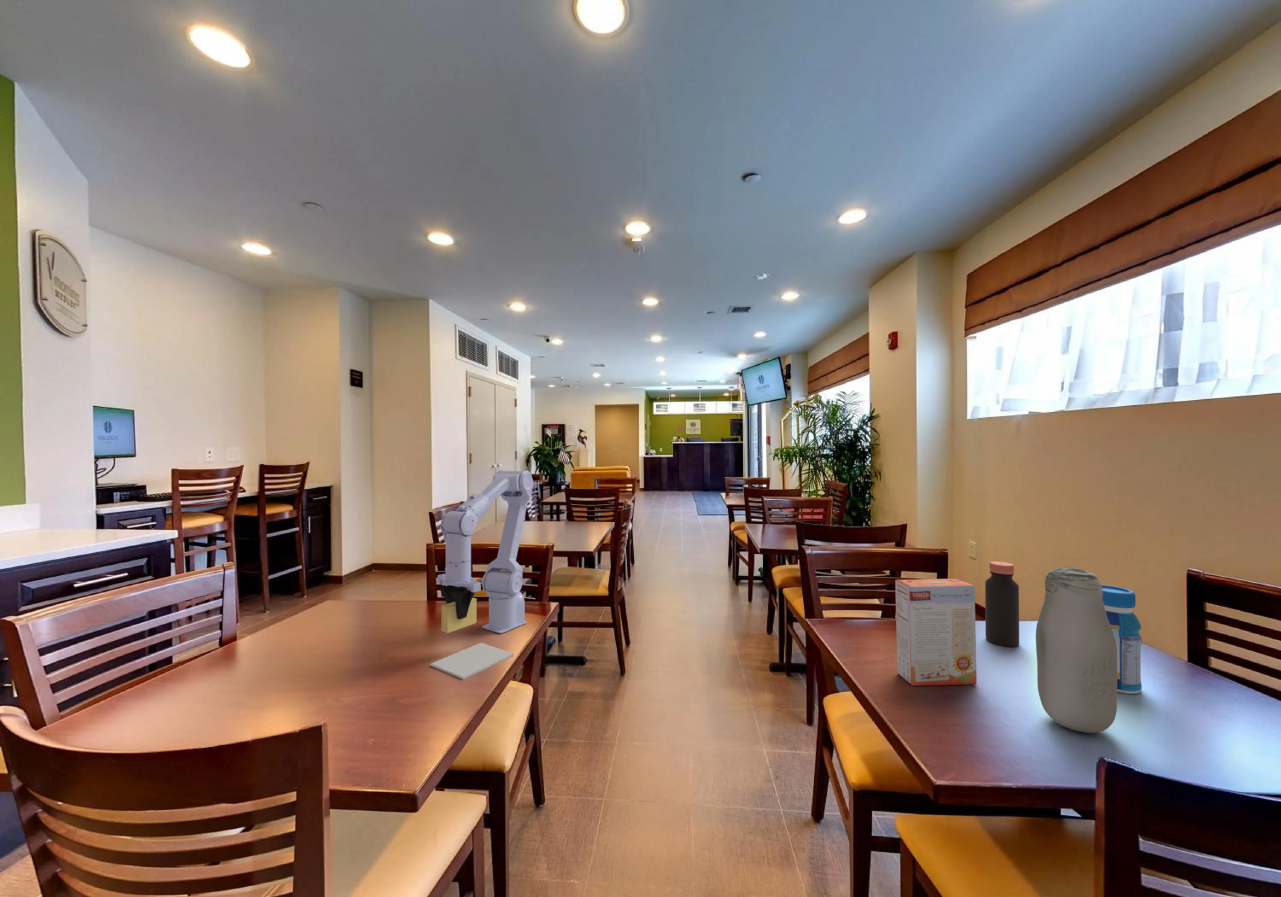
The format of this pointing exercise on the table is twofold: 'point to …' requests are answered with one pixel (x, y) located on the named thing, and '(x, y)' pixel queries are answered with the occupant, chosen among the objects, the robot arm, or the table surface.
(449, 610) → the block
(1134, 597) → the beverage bottle
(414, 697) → the table surface
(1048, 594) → the grey jar
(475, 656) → the mat
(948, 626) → the cracker box
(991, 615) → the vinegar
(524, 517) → the robot arm
